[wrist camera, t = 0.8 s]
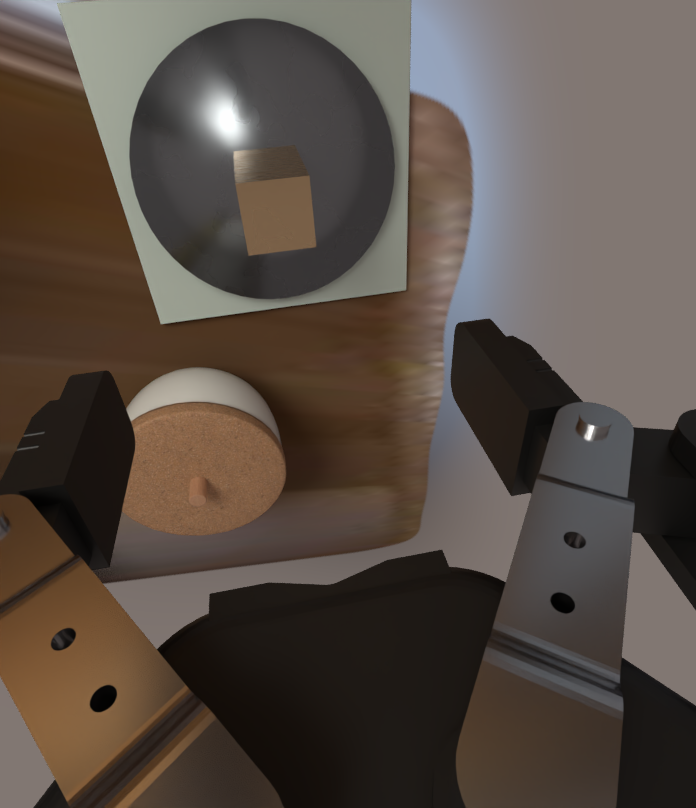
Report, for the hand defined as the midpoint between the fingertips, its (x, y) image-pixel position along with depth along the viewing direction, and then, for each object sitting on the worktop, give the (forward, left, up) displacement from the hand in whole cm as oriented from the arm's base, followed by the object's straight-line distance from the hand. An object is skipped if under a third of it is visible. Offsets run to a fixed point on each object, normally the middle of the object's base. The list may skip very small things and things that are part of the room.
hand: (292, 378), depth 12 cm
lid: (+1, +1, -20) cm, 20 cm away
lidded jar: (+16, -6, -21) cm, 27 cm away
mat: (+1, +1, -21) cm, 21 cm away
